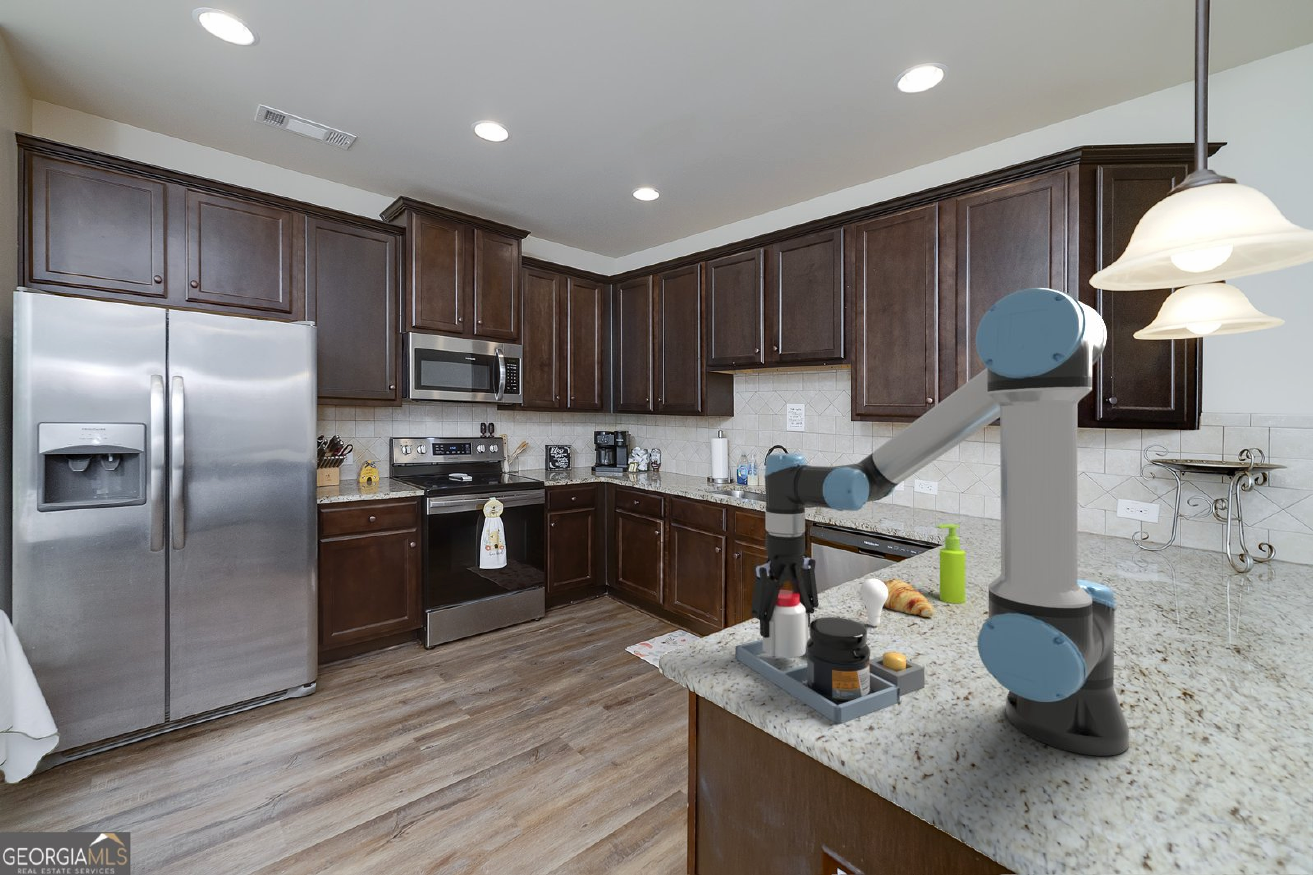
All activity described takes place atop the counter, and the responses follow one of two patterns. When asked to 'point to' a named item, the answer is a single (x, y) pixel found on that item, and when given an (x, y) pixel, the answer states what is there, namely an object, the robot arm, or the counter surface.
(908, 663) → the grey egg holder
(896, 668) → the button
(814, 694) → the frame
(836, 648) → the supplement container
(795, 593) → the pill bottle
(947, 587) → the soap dispenser
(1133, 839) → the counter surface
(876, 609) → the lightbulb
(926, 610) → the croissant
